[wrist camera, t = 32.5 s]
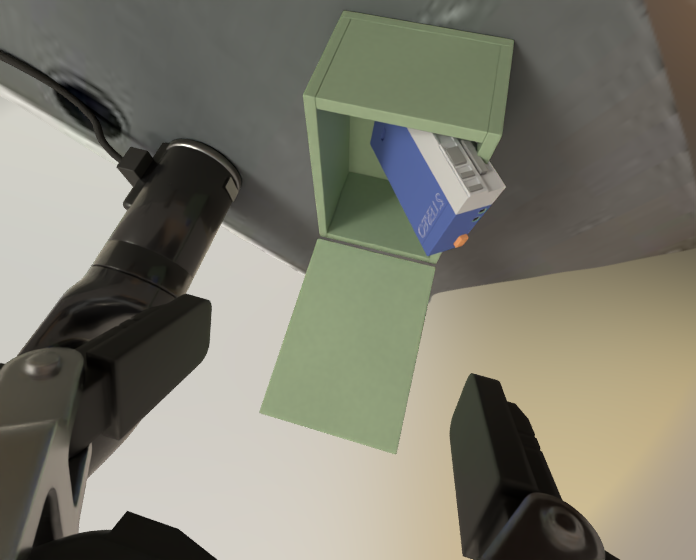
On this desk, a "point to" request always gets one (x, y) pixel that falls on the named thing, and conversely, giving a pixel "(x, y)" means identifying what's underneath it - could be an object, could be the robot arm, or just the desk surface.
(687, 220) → the desk surface
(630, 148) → the desk surface
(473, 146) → the walkman
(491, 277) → the desk surface
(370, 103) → the bin
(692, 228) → the desk surface
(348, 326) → the lid
